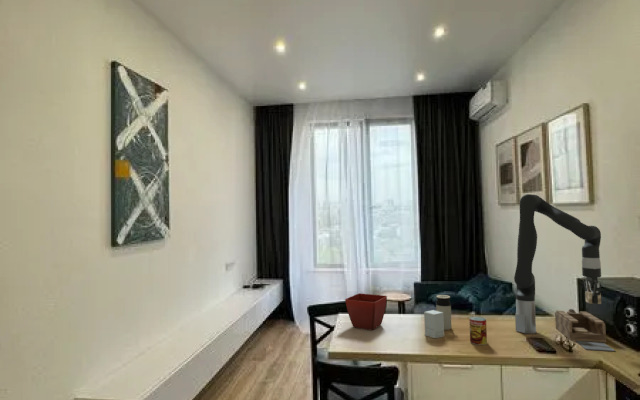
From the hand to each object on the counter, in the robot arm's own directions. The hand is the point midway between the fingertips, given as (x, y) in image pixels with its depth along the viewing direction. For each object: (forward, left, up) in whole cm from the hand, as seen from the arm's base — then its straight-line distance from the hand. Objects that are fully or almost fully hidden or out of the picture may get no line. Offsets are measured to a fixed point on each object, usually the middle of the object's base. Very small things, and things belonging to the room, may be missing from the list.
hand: (593, 302), depth 187 cm
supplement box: (-59, +46, -21) cm, 77 cm away
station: (+6, +9, -21) cm, 24 cm away
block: (0, 0, 0) cm, 0 cm away
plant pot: (-83, +77, -21) cm, 115 cm away
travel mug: (-45, +55, -21) cm, 74 cm away
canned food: (-46, +28, -21) cm, 58 cm away
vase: (+25, +29, -21) cm, 44 cm away
